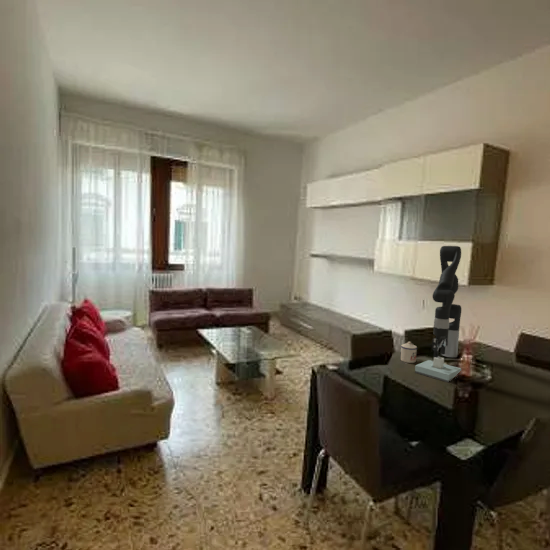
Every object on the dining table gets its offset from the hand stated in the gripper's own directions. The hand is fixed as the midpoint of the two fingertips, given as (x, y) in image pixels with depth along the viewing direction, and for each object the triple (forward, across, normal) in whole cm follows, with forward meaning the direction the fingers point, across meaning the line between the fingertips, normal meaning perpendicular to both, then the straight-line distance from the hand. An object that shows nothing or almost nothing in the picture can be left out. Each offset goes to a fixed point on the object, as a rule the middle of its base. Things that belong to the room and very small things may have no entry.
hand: (439, 355), depth 202 cm
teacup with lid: (+11, -10, -22) cm, 26 cm away
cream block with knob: (+9, 0, 0) cm, 9 cm away
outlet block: (+10, 0, 0) cm, 10 cm away
